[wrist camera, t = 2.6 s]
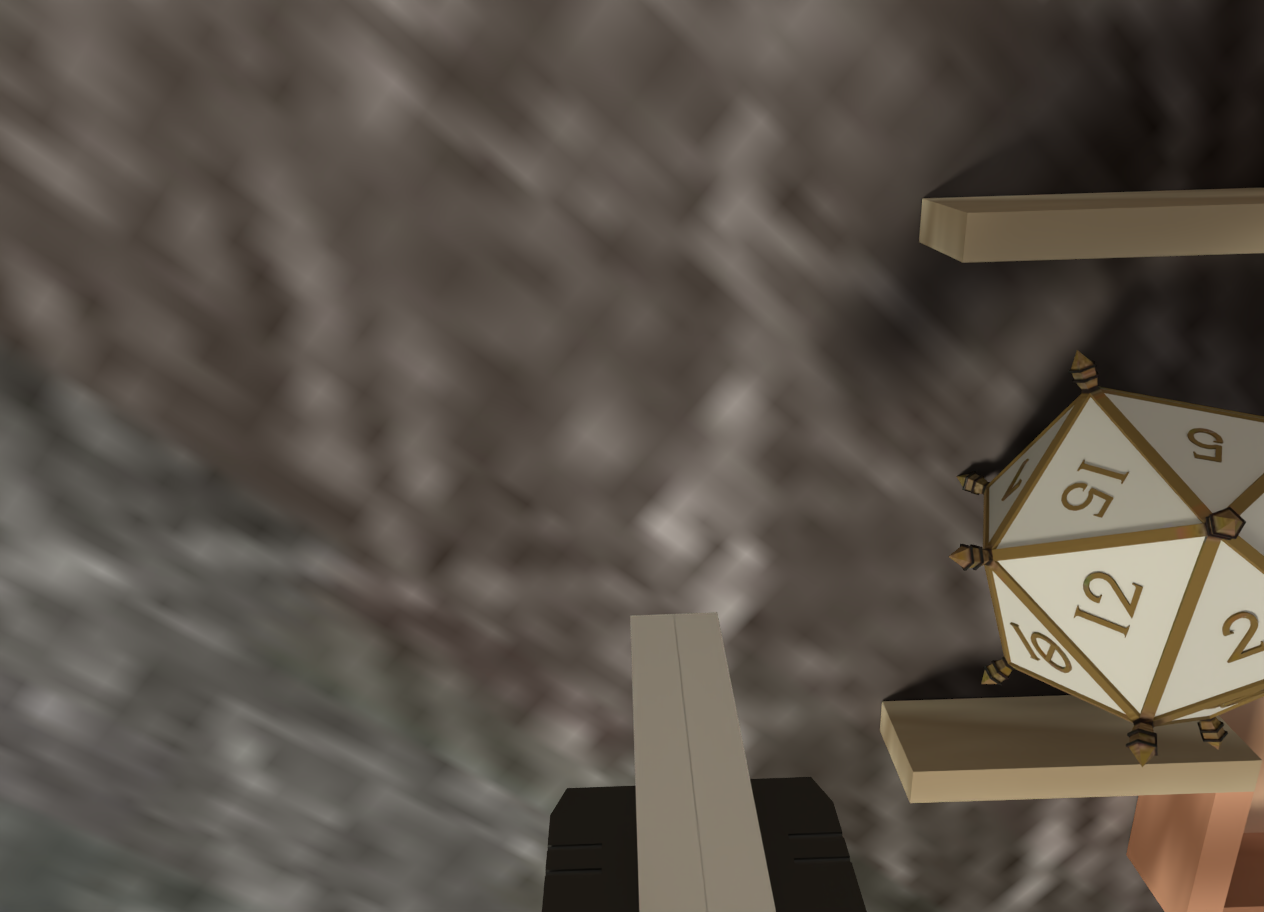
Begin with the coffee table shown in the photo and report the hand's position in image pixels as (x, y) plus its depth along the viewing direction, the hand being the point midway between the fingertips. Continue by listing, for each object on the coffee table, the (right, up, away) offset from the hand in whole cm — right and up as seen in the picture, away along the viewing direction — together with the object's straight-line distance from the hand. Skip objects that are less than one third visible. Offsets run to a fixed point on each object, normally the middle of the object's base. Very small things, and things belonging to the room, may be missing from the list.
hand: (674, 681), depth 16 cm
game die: (+11, +3, +8) cm, 14 cm away
